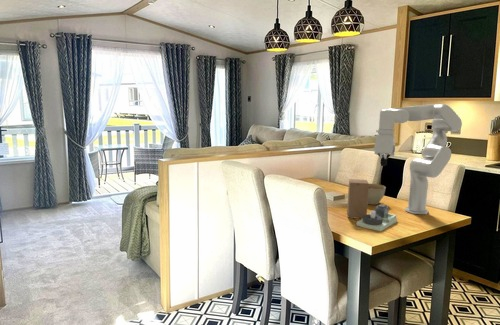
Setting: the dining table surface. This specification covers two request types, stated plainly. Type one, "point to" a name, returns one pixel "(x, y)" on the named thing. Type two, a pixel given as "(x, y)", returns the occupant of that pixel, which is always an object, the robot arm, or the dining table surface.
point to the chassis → (384, 225)
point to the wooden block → (357, 198)
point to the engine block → (382, 211)
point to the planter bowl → (375, 193)
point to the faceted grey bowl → (372, 220)
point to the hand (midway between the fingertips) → (383, 165)
